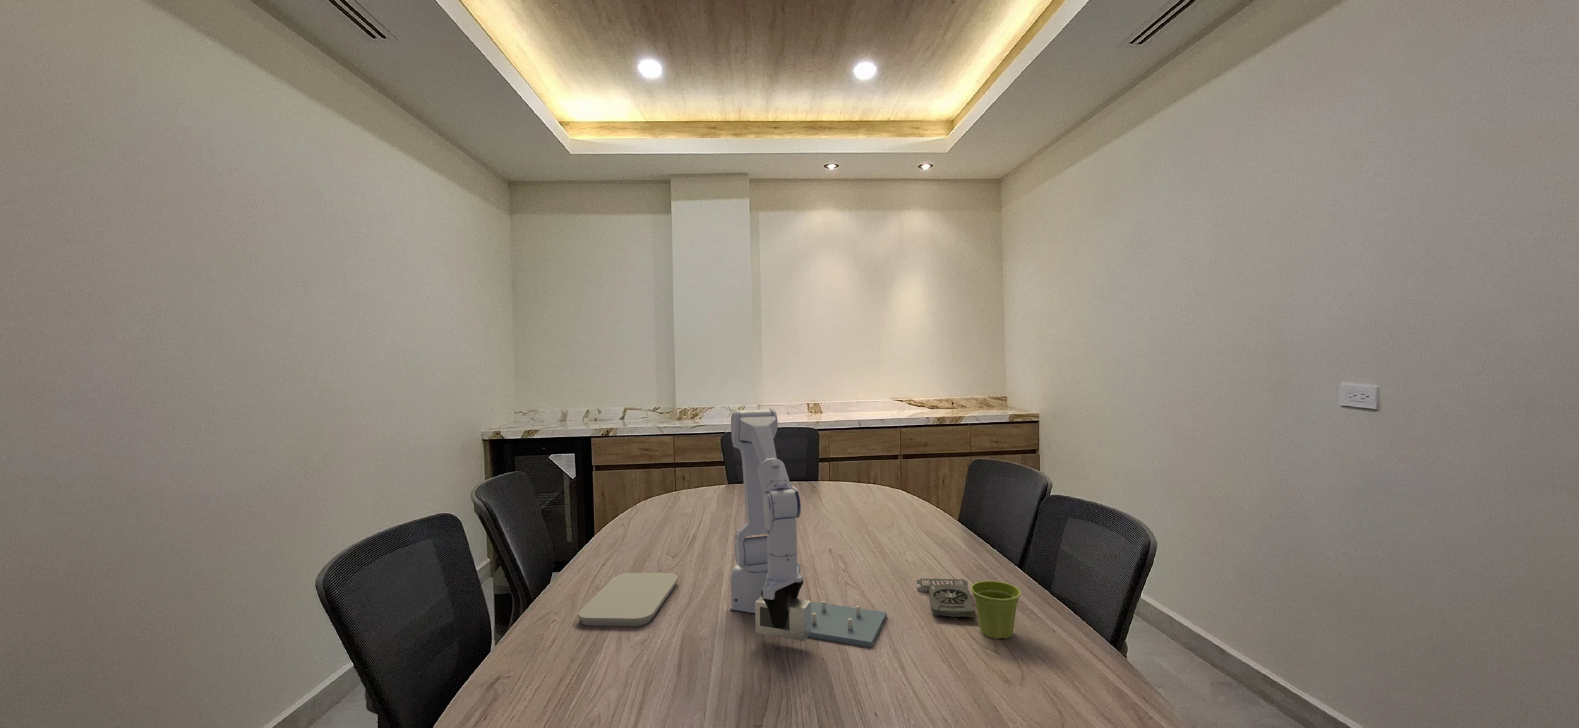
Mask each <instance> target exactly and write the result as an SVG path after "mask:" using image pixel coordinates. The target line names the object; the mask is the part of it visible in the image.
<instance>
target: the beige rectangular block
mask: <svg viewBox="0 0 1579 728" xmlns="http://www.w3.org/2000/svg"><path fill="white" fill-rule="evenodd" d="M811 602H812V600H807V599H801V598H800V599H799V598H797V599H795V598H790V600H789V603H788V607H787V613H786V623H785V627H784V629H778V628H773V625H772V621H771V617H770V613H769V610H768V608H767V605H766V603H765V601H764V600H763V598H762V597H760V598H759V599H758V600H757V601H756V602H755V613H754V614H755V615H754V617H755V634H760V635H766V636H770V637H771V636H772V637H777V638H783V639H789V640H794V641H799V642H801V641H802V642H805V641H806V640H807V639H808V638H809V637H808V636H809V635H810V633H811V632H812V624H811Z"/></svg>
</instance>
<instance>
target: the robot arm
mask: <svg viewBox="0 0 1579 728" xmlns="http://www.w3.org/2000/svg"><path fill="white" fill-rule="evenodd" d="M777 415H778V414H777V412H776V411H775V410H774V409H773V408H769V409H768V408H767V409H764V408H763V409H743V410H738V409H735V410H733V411H732V413H731V416H730V432H731V442H732V447H733V448H735V449H738V450H739V452H740V456H741V464H742V465H741V466H742V476H743V477H742V478H743V480H742V481H743V491H744V506H745V507H744V509H745V520H746V521H745V523H744V524H743V525H742V526H740V527H739V528H738V530H737V531H736V532H735V535H734V539H735V540H734V542H735V543H734V557H735V559H734V560H735V562H736V564H735V566H734V567H733V569H732V572H731V576H730V577H731V578H730V599H731V600H730V603H731V604H730V607H729V609H730V610H732V611H739V612H744V613H752V614H755V602H756V601H757V600H758V599H759V598H760V597H762V598H763V600H764V601H765V603H766V605H767V608H768V610H769V613H770V617H771V621H772V625H773V628H778V629H784V627H785V623H786V613H787V607H788V603H789V600H790V598H795V599H798V596H799V593H800V592H801V589H802V586H803V585H804V575H802V574H801V562H798V534H797V533H798V530H797V528H798V526H797V519H799V518H800V516H801V512H802V504H801V503H802V501H801V496H800V492H799V490H798V488H797V487H795V485H794V484H793V483H791V482H790V479H789V475H788V472H787V469H786V466H785V463H784V462H783V461H782V460H780V459H778V458H777V452H776V448H775V442H774V439H775V438H776V433H777V432H778V425H779V424H778V416H777ZM759 535H761V536H759ZM752 536H753V537H752Z"/></svg>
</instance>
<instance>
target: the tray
mask: <svg viewBox="0 0 1579 728" xmlns="http://www.w3.org/2000/svg"><path fill="white" fill-rule="evenodd" d="M887 616H888V612H887V611H881V610H880V611H879V610H874V609H866V608H861V605H856V606H855V607H853V606H845V605H838V604H830V603H827V601H826V600H822V601H820V602H816V601H811V624H812V632H811V633H810V635H809V636H808V637H807V638H813V639H820V640H823V641H824V640H825V641H830V642H838V643H845V644H850V645H857V646H862V647H868V648H872V647H873V646H874V643H875V642H876V639H877V638H878V635H879V634H880V631H881V629H882V628H883V626H884V623H885V621H886V619H887Z"/></svg>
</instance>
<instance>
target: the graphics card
mask: <svg viewBox="0 0 1579 728" xmlns="http://www.w3.org/2000/svg"><path fill="white" fill-rule="evenodd" d="M933 581H934V583H935V584H934V583H933ZM941 581H942V582H941ZM968 581H969V580H968V579H961V578H956V579H955V578H926V577H925V578H924V577H923V578H920V579H916V585H919V586H917V587H916V591H917V592H927V593H928V595H929V600H930V610H931V612H932V614H933V615H934V616H936V617H937V616H944V617H945V616H946V617H953V618H954V619H955V620H956V619H957V620H964V617H970V618H974V617H976V614H975V613H976V609H975V610H974V608H975V605H974V601H973V599H972V596H971V593H970V591H969V586H968V585H969V582H968ZM947 582H948V583H947ZM938 583H939V584H938Z"/></svg>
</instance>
